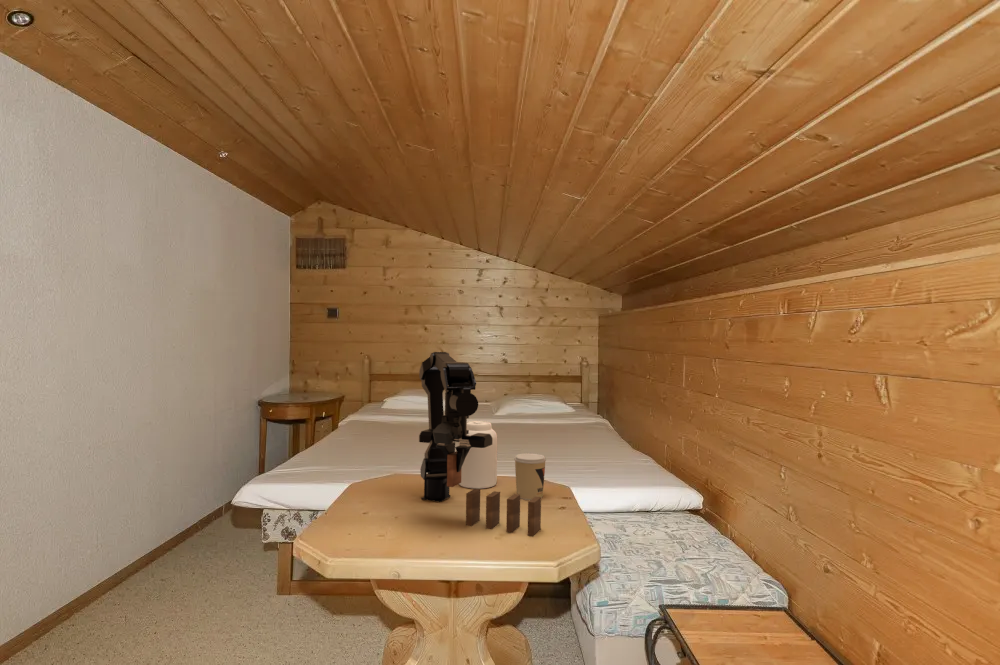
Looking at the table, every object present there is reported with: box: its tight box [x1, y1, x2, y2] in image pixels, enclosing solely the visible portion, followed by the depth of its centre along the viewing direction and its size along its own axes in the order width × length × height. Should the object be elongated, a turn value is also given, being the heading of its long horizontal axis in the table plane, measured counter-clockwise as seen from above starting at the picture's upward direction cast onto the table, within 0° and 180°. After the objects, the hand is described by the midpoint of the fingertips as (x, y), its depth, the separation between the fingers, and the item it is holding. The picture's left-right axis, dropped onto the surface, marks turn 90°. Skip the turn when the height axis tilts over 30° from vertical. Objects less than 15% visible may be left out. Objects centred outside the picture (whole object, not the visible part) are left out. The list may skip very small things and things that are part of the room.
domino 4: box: [505, 493, 521, 534], centre depth 140 cm, size 2×5×8 cm, turn 158°
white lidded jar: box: [457, 420, 498, 490], centre depth 183 cm, size 12×12×20 cm
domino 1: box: [447, 450, 461, 488], centre depth 146 cm, size 2×5×8 cm, turn 158°
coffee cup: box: [514, 452, 547, 501], centre depth 169 cm, size 9×9×12 cm
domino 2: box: [465, 489, 481, 527], centre depth 144 cm, size 2×5×8 cm, turn 157°
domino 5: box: [527, 497, 542, 537], centre depth 138 cm, size 2×5×8 cm, turn 157°
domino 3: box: [485, 490, 501, 530], centre depth 142 cm, size 2×5×8 cm, turn 157°
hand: (454, 471), depth 147 cm, fingers closed on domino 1, 2 cm apart
